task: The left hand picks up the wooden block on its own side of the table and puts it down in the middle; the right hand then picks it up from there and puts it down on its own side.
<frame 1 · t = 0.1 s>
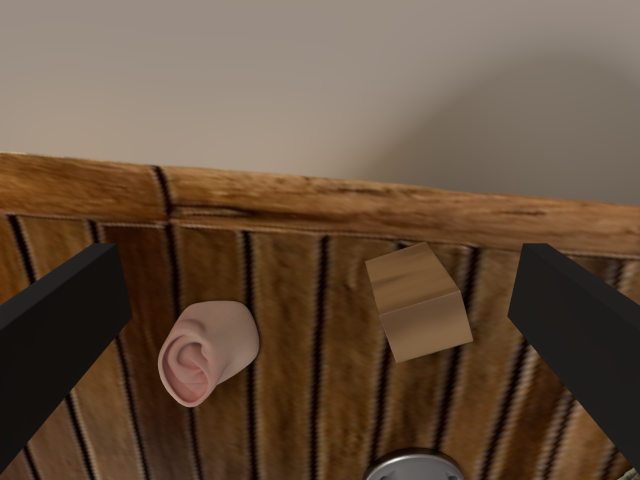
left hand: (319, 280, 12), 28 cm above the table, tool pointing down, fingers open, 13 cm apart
anatomical model: (212, 341, 47), on the table
block: (401, 271, 43), on the table
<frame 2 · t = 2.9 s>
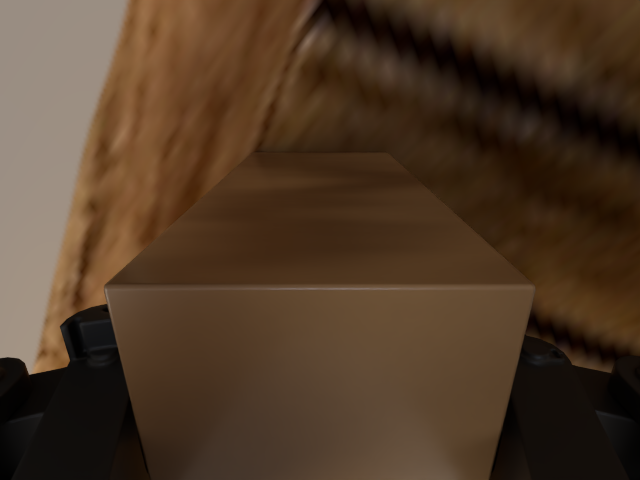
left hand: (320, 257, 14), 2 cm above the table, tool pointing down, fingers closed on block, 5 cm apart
block: (319, 234, 16), on the table, touching left hand
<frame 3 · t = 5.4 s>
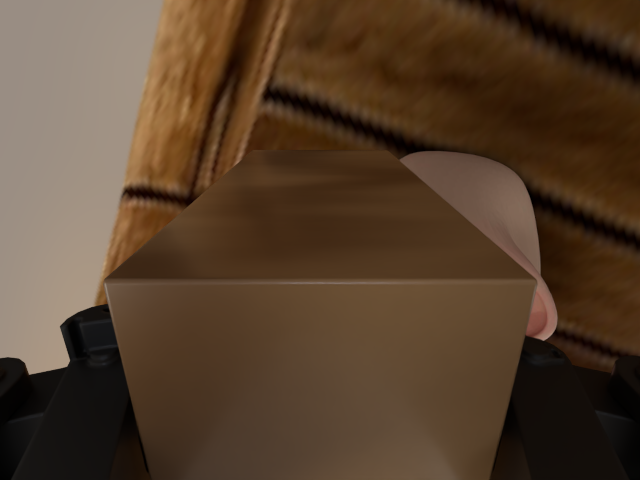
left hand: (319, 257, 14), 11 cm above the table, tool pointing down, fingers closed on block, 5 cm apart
anatomical model: (453, 244, 26), on the table
block: (320, 232, 16), point 8 cm above the table, touching left hand
when the left hand's fingers open (4 cm above the table, at t = 8.2 s): block drops 1 cm, on the table.
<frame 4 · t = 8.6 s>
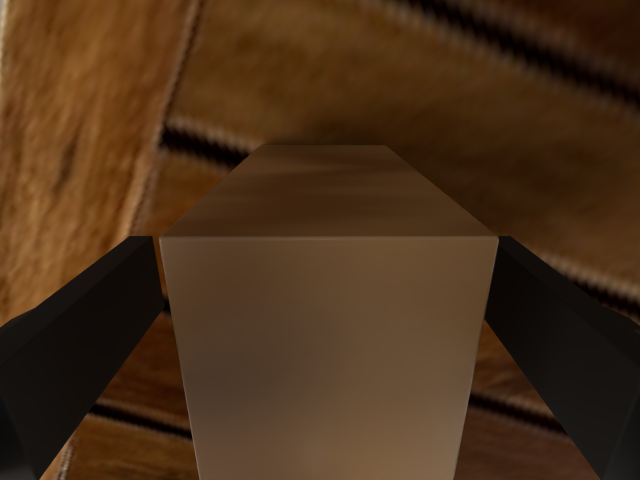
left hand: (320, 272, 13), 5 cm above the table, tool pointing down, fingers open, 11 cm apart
block: (322, 221, 18), on the table
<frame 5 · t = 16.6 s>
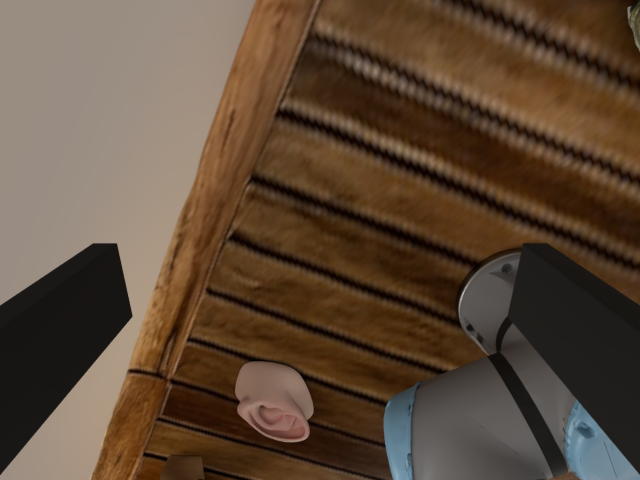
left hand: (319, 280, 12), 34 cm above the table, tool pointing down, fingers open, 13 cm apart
anatomical model: (273, 393, 58), on the table
block: (187, 470, 64), on the table, touching right hand
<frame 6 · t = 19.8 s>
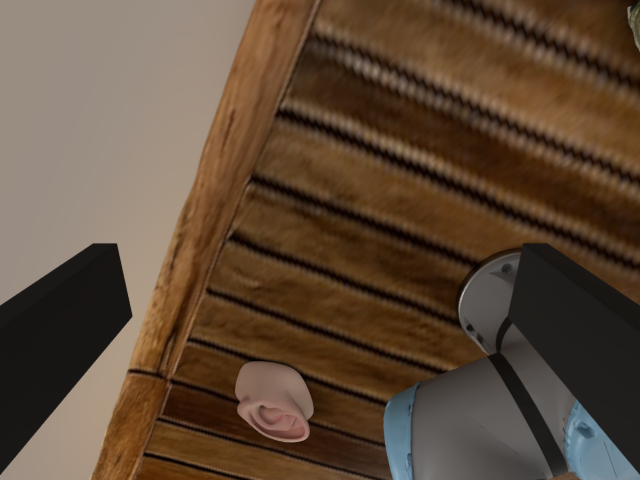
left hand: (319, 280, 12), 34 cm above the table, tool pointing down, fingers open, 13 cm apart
anatomical model: (273, 393, 58), on the table
when the right hand's fingers open (4 cm above the table, at t = 23.3 s): block drops 1 cm, on the table.
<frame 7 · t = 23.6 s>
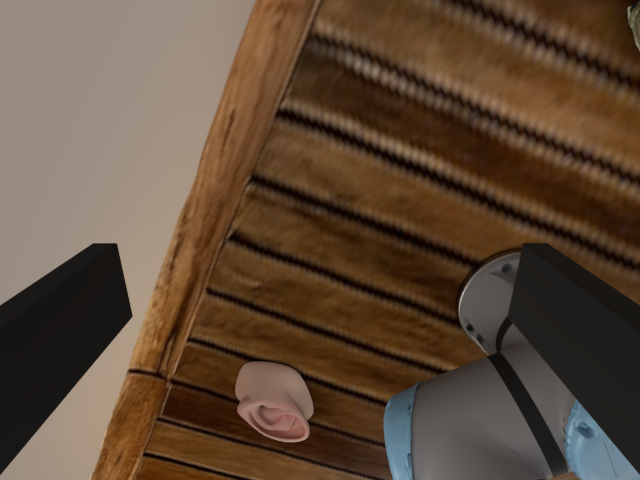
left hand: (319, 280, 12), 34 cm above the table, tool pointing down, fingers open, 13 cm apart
anatomical model: (273, 393, 58), on the table
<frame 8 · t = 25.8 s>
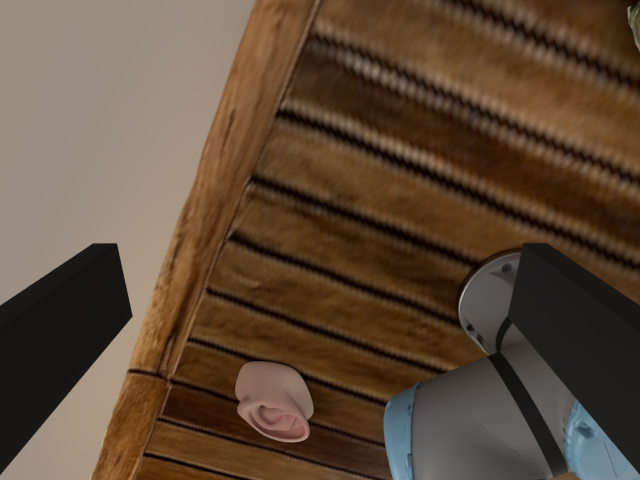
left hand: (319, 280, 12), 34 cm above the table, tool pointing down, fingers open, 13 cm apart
anatomical model: (273, 393, 58), on the table
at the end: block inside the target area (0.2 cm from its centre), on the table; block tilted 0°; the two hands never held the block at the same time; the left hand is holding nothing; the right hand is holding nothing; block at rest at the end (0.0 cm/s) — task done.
